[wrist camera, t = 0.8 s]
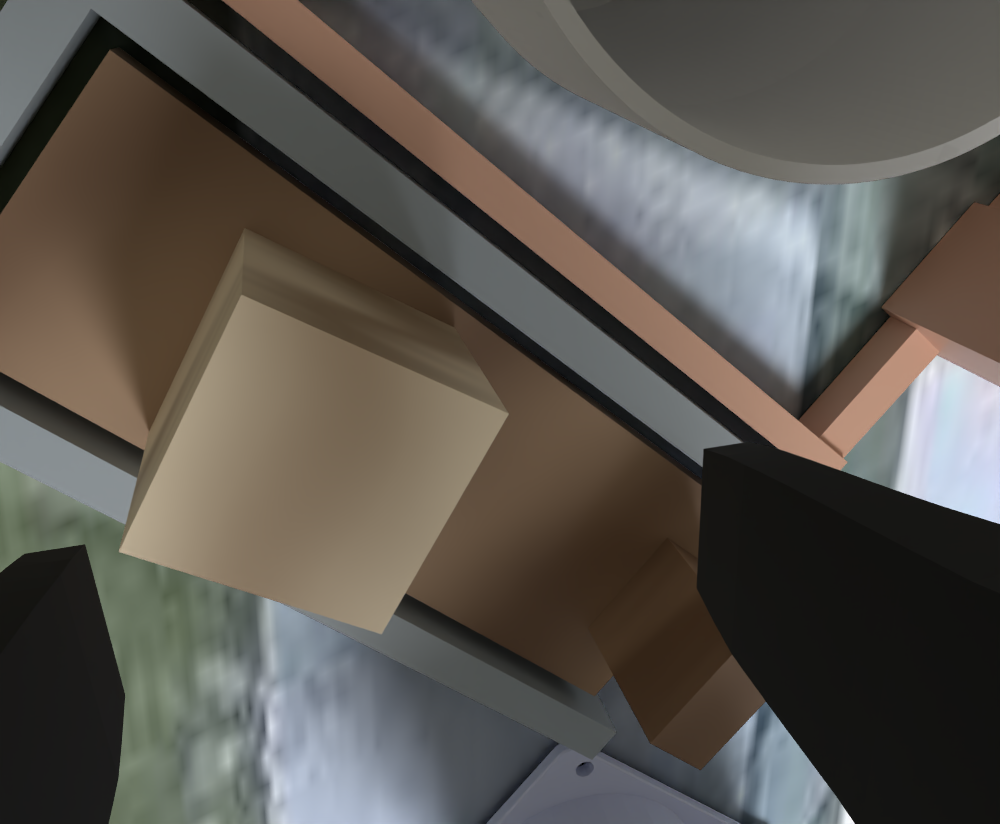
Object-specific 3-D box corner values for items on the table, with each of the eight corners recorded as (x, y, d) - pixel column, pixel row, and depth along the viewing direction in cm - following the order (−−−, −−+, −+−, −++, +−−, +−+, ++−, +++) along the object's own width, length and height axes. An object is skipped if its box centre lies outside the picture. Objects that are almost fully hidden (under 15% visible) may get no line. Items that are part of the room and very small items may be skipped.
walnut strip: (728, 499, 24) (844, 618, 19) (579, 666, 25) (654, 818, 20) (119, 47, 16) (66, 60, 12) (-57, 310, 17) (-169, 419, 13)
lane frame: (1174, 46, 22) (1239, 49, 20) (573, 717, 25) (592, 759, 24) (589, -874, 13) (629, -981, 12) (-177, 323, 17) (-217, 352, 16)
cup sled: (1138, 107, 22) (1397, 135, 17) (809, 473, 24) (955, 594, 19) (553, -743, 14) (722, -1173, 9) (123, -81, 16) (62, -124, 11)
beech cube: (454, 328, 19) (509, 413, 15) (356, 508, 20) (381, 634, 16) (244, 227, 17) (241, 294, 13) (148, 431, 18) (118, 552, 14)
